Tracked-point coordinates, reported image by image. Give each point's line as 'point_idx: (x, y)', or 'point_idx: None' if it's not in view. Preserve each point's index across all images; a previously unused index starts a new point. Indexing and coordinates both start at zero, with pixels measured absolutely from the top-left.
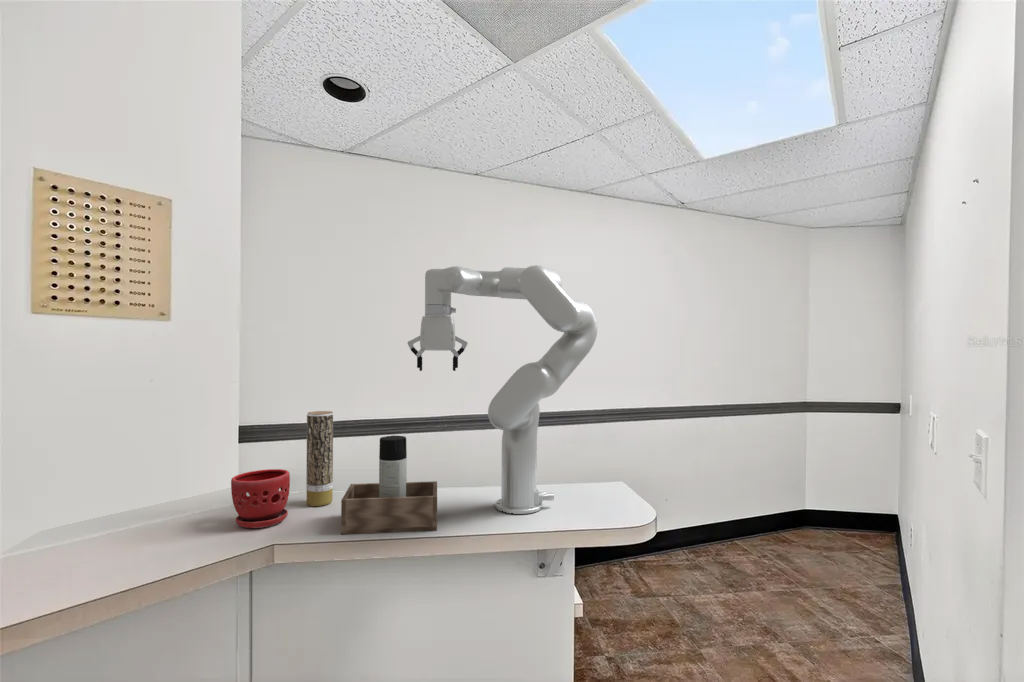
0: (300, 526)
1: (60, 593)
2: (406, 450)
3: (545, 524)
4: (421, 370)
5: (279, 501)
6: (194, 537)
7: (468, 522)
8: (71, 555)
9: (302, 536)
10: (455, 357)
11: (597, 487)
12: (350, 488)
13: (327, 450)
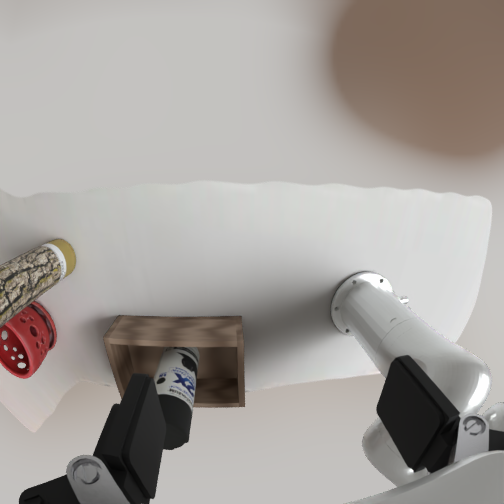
0: (79, 343)
1: (22, 414)
2: (190, 420)
3: (369, 361)
4: (162, 424)
5: (46, 353)
6: (14, 349)
7: (283, 357)
8: None
9: (96, 371)
10: (422, 467)
11: (473, 219)
12: (111, 359)
13: (29, 302)
